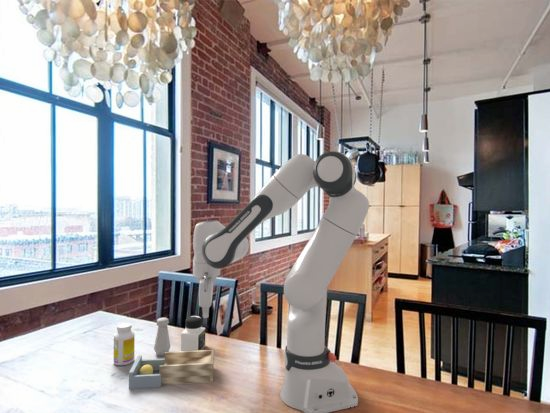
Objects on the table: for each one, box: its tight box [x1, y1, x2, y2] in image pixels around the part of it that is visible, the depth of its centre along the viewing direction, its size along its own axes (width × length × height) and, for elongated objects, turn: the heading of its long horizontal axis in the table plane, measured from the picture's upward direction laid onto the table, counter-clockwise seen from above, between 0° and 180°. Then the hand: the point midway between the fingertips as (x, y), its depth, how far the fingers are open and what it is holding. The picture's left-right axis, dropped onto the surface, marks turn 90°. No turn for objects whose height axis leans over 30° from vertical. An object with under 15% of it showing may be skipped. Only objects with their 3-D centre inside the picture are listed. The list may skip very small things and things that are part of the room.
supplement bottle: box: [113, 322, 135, 366], centre depth 117 cm, size 7×7×13 cm
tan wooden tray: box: [159, 349, 215, 386], centre depth 108 cm, size 16×10×6 cm, turn 99°
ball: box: [140, 365, 153, 375], centre depth 106 cm, size 4×4×4 cm
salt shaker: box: [153, 317, 171, 357], centre depth 124 cm, size 6×6×13 cm
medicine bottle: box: [180, 315, 206, 351], centre depth 128 cm, size 7×7×12 cm
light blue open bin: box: [128, 355, 165, 390], centre depth 106 cm, size 9×11×5 cm
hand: (206, 312), depth 109 cm, fingers open, 8 cm apart
